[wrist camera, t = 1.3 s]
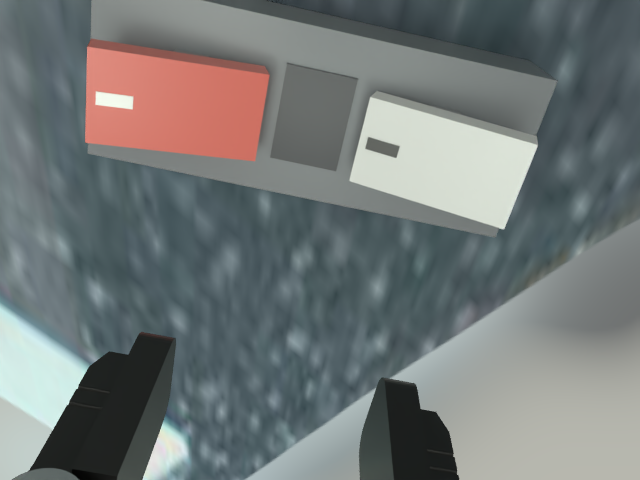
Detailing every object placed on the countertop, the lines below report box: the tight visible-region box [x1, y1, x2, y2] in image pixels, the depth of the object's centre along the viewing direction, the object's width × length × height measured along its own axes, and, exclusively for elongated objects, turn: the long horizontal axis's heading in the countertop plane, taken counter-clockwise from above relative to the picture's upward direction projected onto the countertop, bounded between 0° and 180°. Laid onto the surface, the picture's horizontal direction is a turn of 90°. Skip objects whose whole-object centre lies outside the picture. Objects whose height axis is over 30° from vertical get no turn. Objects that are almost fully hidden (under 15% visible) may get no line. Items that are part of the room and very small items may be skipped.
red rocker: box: [85, 39, 269, 161], centre depth 28 cm, size 8×4×2 cm, turn 79°
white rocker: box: [349, 91, 538, 229], centre depth 29 cm, size 8×4×2 cm, turn 77°
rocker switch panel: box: [88, 0, 557, 237], centre depth 32 cm, size 23×9×6 cm, turn 78°
